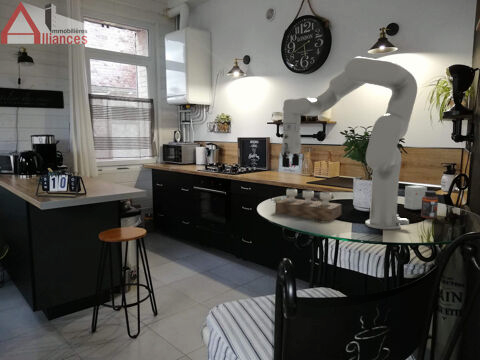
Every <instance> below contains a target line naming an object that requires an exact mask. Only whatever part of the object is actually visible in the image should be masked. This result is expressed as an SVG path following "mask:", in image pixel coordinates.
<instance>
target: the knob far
mask: <svg viewBox="0 0 480 360" xmlns="http://www.w3.org/2000/svg"><path fill="white" fill-rule="evenodd" d="M286 196H287V197H288V198H289V202H295V199H296V198H295V197H296V196H298V190H297V189H296V188H287V189H286Z"/></svg>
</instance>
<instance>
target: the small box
mask: <svg viewBox="0 0 480 360" xmlns="http://www.w3.org/2000/svg"><path fill="white" fill-rule="evenodd" d="M404 187H405V189H404V202H403V204H404V205H403V206H404V208H405V209H409V210H421V208H422V197H423V196H425V191H428V186H424V185H405V186H404Z"/></svg>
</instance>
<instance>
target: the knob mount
mask: <svg viewBox="0 0 480 360" xmlns="http://www.w3.org/2000/svg"><path fill="white" fill-rule="evenodd" d="M274 213H275V214H281V215H287V216H294V217H302V218H308V219H314V220H321V221H330V222H332V221H334V220H336V219H337V218H339V217H341V216H342V203H336V202H335V203H334V202H329V205H328V206H322V201H316V200H311V204H305V199H299V198H295V202H289V197H288V198H287V197H286V198H285V199H284V198H283V199H280V200H277V201H275V212H274ZM340 215H341V216H340Z"/></svg>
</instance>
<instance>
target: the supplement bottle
mask: <svg viewBox="0 0 480 360" xmlns="http://www.w3.org/2000/svg"><path fill="white" fill-rule="evenodd" d="M438 203H439V197H438V196H437V191H435V190H427V191H425V196H423V197H422V208H421V209H420V210H421V212H420V217H422V218H424V219H429V220H434V219H437V217H438V205H439V204H438Z"/></svg>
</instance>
